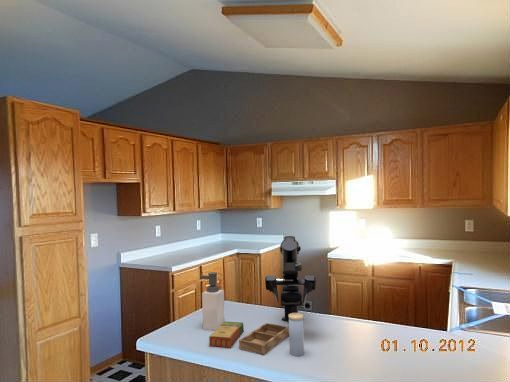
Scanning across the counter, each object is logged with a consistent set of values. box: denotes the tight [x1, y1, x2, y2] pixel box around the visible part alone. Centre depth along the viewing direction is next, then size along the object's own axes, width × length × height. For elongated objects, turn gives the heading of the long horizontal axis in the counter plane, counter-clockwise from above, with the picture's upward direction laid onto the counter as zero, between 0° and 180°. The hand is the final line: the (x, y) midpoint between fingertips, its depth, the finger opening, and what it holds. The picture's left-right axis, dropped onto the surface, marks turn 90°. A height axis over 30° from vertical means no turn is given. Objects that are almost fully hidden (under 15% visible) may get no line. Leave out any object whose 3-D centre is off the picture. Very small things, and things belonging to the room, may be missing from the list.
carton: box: [208, 320, 245, 349], centre depth 139 cm, size 8×16×4 cm, turn 165°
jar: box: [288, 312, 305, 357], centre depth 125 cm, size 5×5×13 cm
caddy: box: [238, 322, 289, 356], centre depth 135 cm, size 19×10×3 cm, turn 149°
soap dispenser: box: [199, 271, 226, 331], centre depth 151 cm, size 6×9×22 cm
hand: (290, 302), depth 134 cm, fingers open, 9 cm apart
